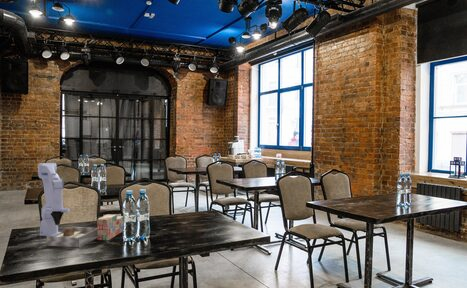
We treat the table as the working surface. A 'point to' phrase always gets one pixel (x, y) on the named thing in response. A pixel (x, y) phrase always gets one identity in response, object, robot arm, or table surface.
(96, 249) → the table surface
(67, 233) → the walnut block
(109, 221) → the stack of blocks
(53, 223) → the robot arm
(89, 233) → the board
